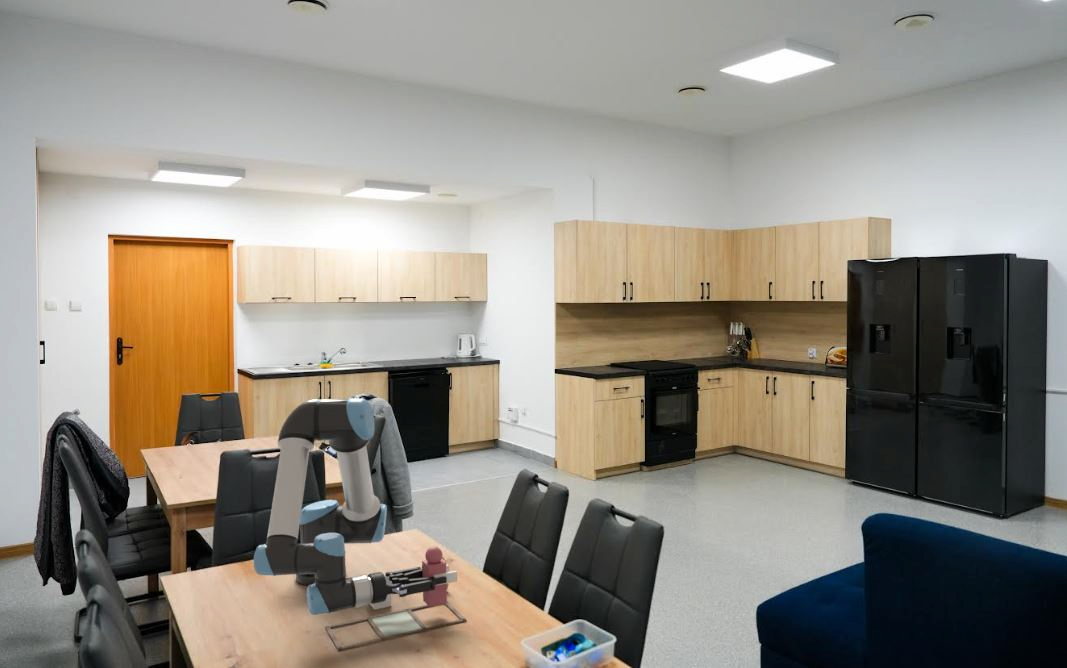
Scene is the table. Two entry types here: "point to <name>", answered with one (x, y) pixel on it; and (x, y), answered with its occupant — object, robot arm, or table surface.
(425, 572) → the pawn
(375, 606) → the die
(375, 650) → the table surface
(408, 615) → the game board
